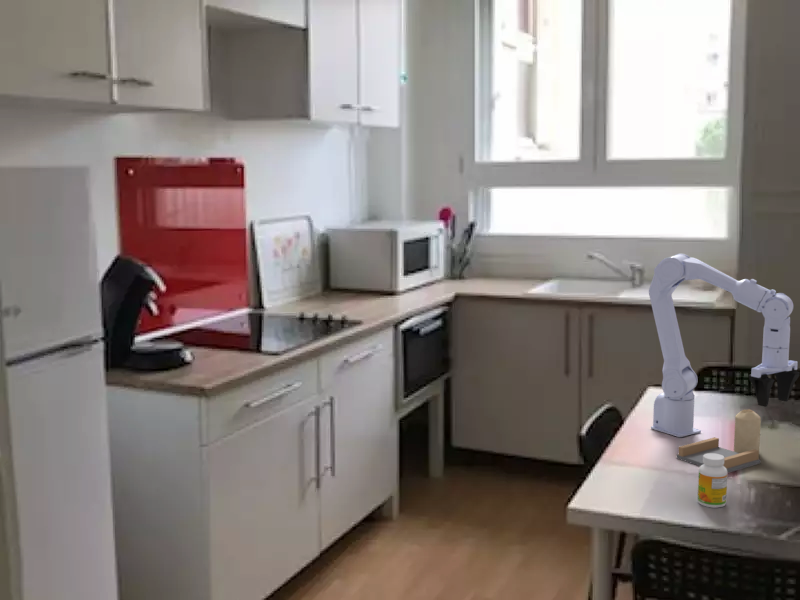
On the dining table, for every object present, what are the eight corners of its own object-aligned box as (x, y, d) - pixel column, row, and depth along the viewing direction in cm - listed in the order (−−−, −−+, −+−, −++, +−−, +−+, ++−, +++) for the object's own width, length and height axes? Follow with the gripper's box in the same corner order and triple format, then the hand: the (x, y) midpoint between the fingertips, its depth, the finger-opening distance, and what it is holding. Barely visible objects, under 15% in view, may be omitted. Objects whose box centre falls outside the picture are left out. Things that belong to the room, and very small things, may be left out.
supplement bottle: (693, 498, 186) (694, 452, 184) (719, 497, 186) (721, 451, 185) (704, 508, 181) (706, 461, 179) (730, 507, 181) (732, 460, 180)
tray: (676, 458, 211) (676, 446, 210) (712, 448, 217) (712, 436, 217) (723, 474, 200) (724, 461, 199) (760, 463, 206) (760, 451, 206)
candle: (761, 457, 211) (763, 414, 209) (735, 455, 212) (737, 413, 210) (756, 449, 216) (758, 408, 214) (732, 448, 217) (734, 407, 216)
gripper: (771, 353, 208) (768, 411, 210) (810, 345, 215) (807, 402, 217) (744, 347, 214) (741, 404, 216) (783, 340, 221) (780, 395, 223)
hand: (772, 403), depth 217 cm, fingers open, 7 cm apart
